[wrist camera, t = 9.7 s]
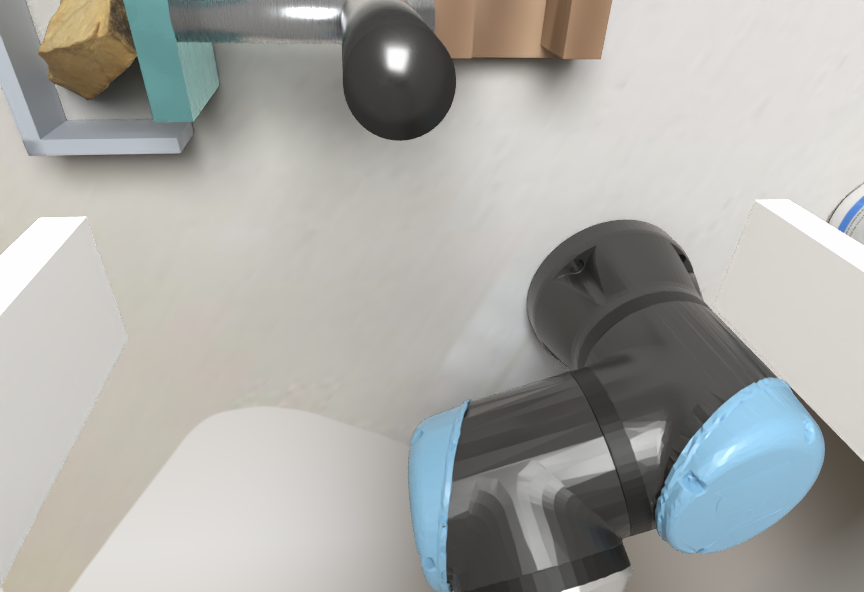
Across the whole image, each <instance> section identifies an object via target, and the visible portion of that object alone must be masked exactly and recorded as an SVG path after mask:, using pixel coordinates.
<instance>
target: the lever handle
mask: <svg viewBox="0 0 864 592" xmlns="http://www.w3.org/2000/svg"><path fill="white" fill-rule="evenodd" d="M123 1H124V5H125V9H126V13H127V17H128V21H129V25H130V29H131V33H132V37H133V41H134V45H135V48H136V52H137V56H138V60H139V64H140V68H141V72H142V76H143V80H144V84H145V88H146V92H147V96H148V99H149V103H150V107H151V111H152V115H153V119H154V122H194V120H195V119H196V118H197V116H198V115H199V113H200V112H201V111H202V109H203V108H204V106H205V105H206V104H207V102H208V101H209V99H210V98H211V97H212V95H213V94H214V92H215V91H216V90H217V88H218V87H219V85H220V84H219V79H218V73H217V68H216V62H215V57H214V51H213V46H212V43H303V44H342V62H343V87H344V94H345V98H346V101H347V104H348V106H349V109H350V110H351V112H352V114H353V115H354V117H355V118H356V120H357V121H358V122H359V123H360V124H361V125H362V126H363V127H364V128H366V129H367V130H368V131H370V132H371V133H373V134H375V135H377V136H379V137H382V138H385V139H390V140H400V141H401V140H410V139H414V138H417V137H420V136H422V135H424V134H426V133H428V132H429V131H431V130H432V129H434V128H435V127H436V126H437V125H438V124H439V123H440V122H441V121H442V120H443V118H444V117H445V115H446V114H447V112H448V111H449V109H450V107H451V104H452V101H453V98H454V94H455V88H456V75H455V69H454V65H453V61H452V59H451V56H450V54H449V52H448V51H447V49H446V47H445V46H444V45H443V43H442V42H441V41H440V40H439V38H438V37H437V36H436V35H435V34H434V32H435V3H434V0H123Z"/></svg>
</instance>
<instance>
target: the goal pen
mask: <svg viewBox="0 0 864 592" xmlns="http://www.w3.org/2000/svg"><path fill="white" fill-rule="evenodd" d="M39 47H40V42H39V39H38V36H37V33H36V30H35V27H34V24H33V21H32V18H31V16H30V13H29V10H28V7H27V4H26V1H25V0H0V85H1V87H2V90H3V92H4V95H5V97H6V100H7V102H8V105H9V107H10V110H11V112H12V115H13V117H14V120H15V122H16V125H17V127H18V130H19V132H20V135H21V138H22V140H23V143H24V145H25V148H26V150H27V153H28V155H29V156H48V155H107V154H167V153H181V152H182V150H183V149H184V147H185V146H186V145H187V143H188V142H189V140H190V139H191V137H192V136H193V134H194V131H193V127H192V122H154V119H147V120H66V117H65V114H64V111H63V108H62V105H61V103H60V100H59V97H58V94H57V91H56V88H55V85H54V83H53V82H51V81H50V80H49V79H48V71H49V69H48V65H47V63H46V61H45V60H44V59H43V58H41V57H40V56H39V55H38V50H39Z"/></svg>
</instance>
